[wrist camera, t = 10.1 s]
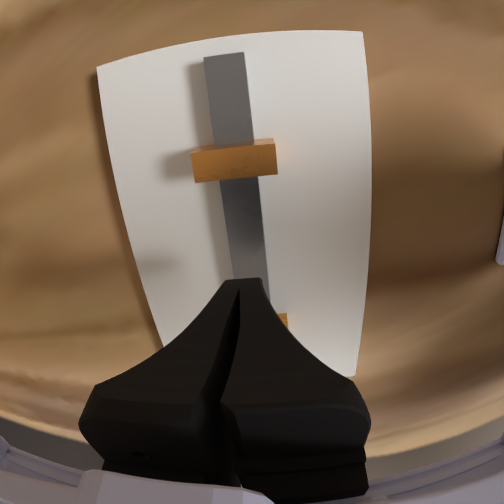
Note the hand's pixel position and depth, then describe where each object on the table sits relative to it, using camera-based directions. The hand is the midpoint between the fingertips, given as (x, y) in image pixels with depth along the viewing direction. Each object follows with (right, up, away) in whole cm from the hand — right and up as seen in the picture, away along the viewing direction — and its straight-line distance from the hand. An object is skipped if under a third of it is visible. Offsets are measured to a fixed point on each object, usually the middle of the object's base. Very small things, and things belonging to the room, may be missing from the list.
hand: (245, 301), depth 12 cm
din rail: (0, +2, +4) cm, 4 cm away
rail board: (0, +2, +5) cm, 6 cm away
